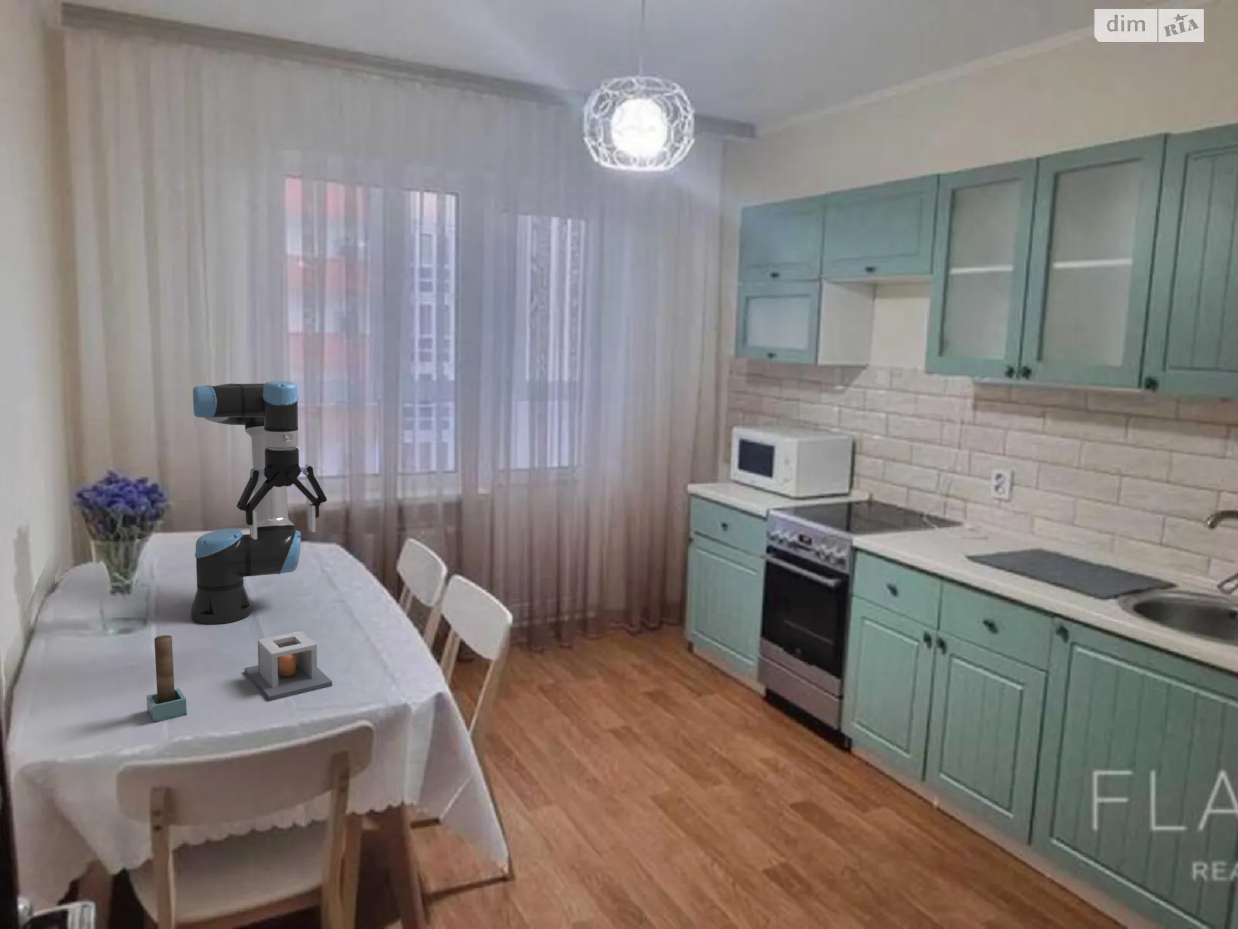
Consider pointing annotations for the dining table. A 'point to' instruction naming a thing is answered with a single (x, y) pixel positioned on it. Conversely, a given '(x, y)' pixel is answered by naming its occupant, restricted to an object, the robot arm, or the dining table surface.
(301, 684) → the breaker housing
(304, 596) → the dining table surface
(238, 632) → the dining table surface
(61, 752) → the dining table surface
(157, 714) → the box
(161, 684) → the brown wooden rod
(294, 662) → the button
